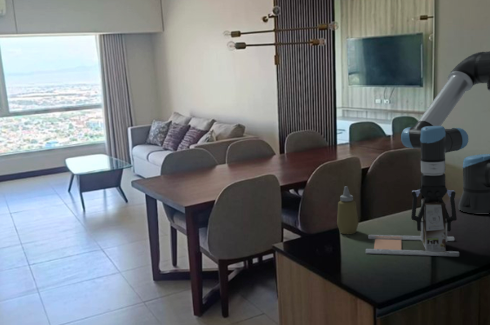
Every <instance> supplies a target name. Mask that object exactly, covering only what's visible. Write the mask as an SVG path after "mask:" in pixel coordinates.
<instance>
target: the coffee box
mask: <svg viewBox="0 0 490 325" xmlns="http://www.w3.org/2000/svg"><path fill="white" fill-rule="evenodd" d="M423 202H424V198H421V204H422V203H423ZM446 205H447V204H446V203H445V201H443V202H439V201H429V202H428V203H424V214H423V217H422V219H421V220H423V241H422V245H423V246H424V250H425V251H447V249H446V247H447V246H446V243H447V242H446V209H447V207H446Z"/></svg>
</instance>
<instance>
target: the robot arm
mask: <svg viewBox="0 0 490 325" xmlns="http://www.w3.org/2000/svg"><path fill="white" fill-rule="evenodd" d="M478 84H486V88H487V90H488V91H489V92H490V51H479V52H476V53H473V54H470V55H468V56H466V58H464V59H463V60H461V61H460V62H459V63H458V64H457V65H456V66H455V67H454V68H453V69H452V70H451V71H450V72H449V74H448V75H447V81H446V83H445V84H444V86H442V88H441V90H440V91H439V92H438V93H437V95H436V96H435V98H434V99H433V100H432V102H431V103H430V105H428V107H427V109H426V110H425V111H424V113H423V114H422V115H421V116H420V118H419V120H418V121H417V122H416V123H415V124H414V126H410V127H409V126H408V127H406V128H404V129H403V130H402V131H401V135H400V142H401V143H402V145H403V146H404V147H406V148H408V149H416V150H420V172H421V174H420V184H421V186H420V188H419V189H417V190H415V189H412V190H411V195H412V206H411V207H412V208H411V218H410V219H411V221H416V229H417V231H418V232H420V236H421V240H420V241H421V242H423V220H422V217H423V214H424V203H428V202H429V201H439V202H444V200H443V198H444V197H445V195H446V194H447V195H448V197H449V203H450V211H451V216H450V214H449V212H448V209H447V208H446V243H447V242H448V241H447V236H448V232H452V231H451V230H452V225H451V224H452V222H455V221H457V218H458V217H457V210H456V202H455V197H456V194H457V193H456V191H455V189H452V190H451V189H447V187H446V174H445V172H446V154H447V153H450V152H451V153H452V152H457V151H460V150H462V149H464V148H465V147H466V146H468V143H469V135H468V132H466V130H465V129H464V128H461V127H452V128H445V127H444V126H443V124H444V123H445V121H446V119H447V118H448V116H449V115H450V114H451V112H452V111H453V109H454V108H455V107H456V106H457V104H458V103H459V101H460V99H461V98H462V97H464V94H465V93H466V92H468V91H470V90H471V89H472V88H473V86H475V85H478ZM420 194H421V195H422V197H423V199H424V202H423V203H422V202H421V206H420V209H419V212H418V214H417V207H418V206H417V203H418V198H419V196H420ZM459 210H461V211H463V212H468V213H490V153H481V154H475V155H474V154H473V155H468V156H466V157H464V158H463V163H462V194H461V196H460V199H459V202H458V211H459ZM461 211H460V212H461ZM463 212H462V213H463ZM416 214H417V215H416Z"/></svg>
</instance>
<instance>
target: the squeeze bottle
mask: <svg viewBox="0 0 490 325" xmlns="http://www.w3.org/2000/svg"><path fill="white" fill-rule="evenodd" d="M339 198H340V201H338V202H337V218H336V219H337V220H336V225H337V227H338V230H339V233H341V234H343V235H352V234H353V235H354V234H355V233H357V229H358V226H359V218H358V211H357V210H358V209H357V203H356V201H354V196H353V195H352V194H350V191H349V187H348V185H347V186H344V187H343V194H341V195H340V197H339Z"/></svg>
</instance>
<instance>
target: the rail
mask: <svg viewBox="0 0 490 325" xmlns="http://www.w3.org/2000/svg"><path fill="white" fill-rule="evenodd" d="M367 237H368V240H375V239H384V240H401V241H402V240H403V241H405V240H406V241H421V235H404V234H403V235H397V234H395V235H392V234H368V236H367ZM454 241H455V237H454V236H448V235H447V242H454ZM365 254H375V255H402V256H404V255H406V256H409V255H410V256H436V257H437V256H438V257H460V252H459V251H453V250H448V251H447V250H446V251H426V250H425V249H424V250H420V249H419V250H417V249H414V250H413V249H401V250H391V249H374V248H365Z"/></svg>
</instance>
